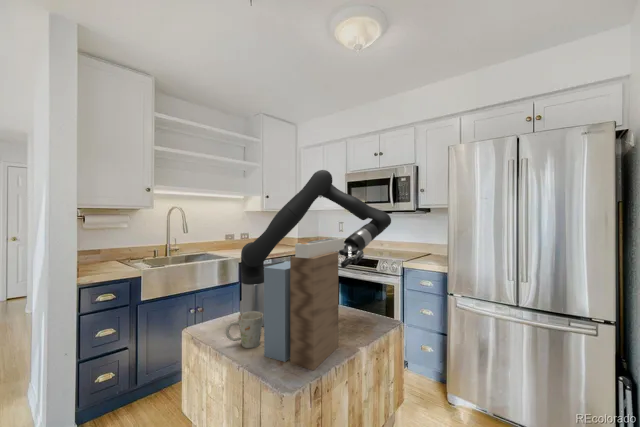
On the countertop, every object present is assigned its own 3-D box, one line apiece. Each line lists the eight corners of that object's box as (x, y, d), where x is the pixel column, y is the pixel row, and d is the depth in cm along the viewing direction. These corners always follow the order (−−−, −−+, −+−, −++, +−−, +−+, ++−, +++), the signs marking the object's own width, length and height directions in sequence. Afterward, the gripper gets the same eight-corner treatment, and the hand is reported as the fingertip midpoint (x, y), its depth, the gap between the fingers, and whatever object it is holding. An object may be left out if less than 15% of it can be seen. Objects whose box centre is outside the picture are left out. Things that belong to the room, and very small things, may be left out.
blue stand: (264, 356, 92) (264, 267, 93) (293, 336, 107) (293, 260, 108) (285, 362, 89) (284, 269, 89) (312, 340, 104) (312, 261, 104)
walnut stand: (290, 363, 88) (290, 256, 88) (317, 341, 103) (317, 250, 103) (313, 370, 84) (313, 258, 84) (338, 346, 99) (338, 252, 99)
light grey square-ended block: (295, 257, 87) (295, 242, 87) (333, 248, 110) (333, 237, 110) (308, 258, 85) (308, 243, 85) (344, 249, 108) (344, 237, 108)
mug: (264, 348, 98) (264, 318, 98) (224, 353, 95) (224, 322, 95) (261, 338, 106) (261, 310, 106) (225, 342, 103) (225, 313, 103)
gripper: (343, 228, 122) (317, 248, 112) (372, 237, 112) (347, 260, 102) (345, 243, 125) (320, 263, 115) (373, 253, 116) (349, 276, 106)
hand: (332, 261), depth 109 cm, fingers open, 8 cm apart
